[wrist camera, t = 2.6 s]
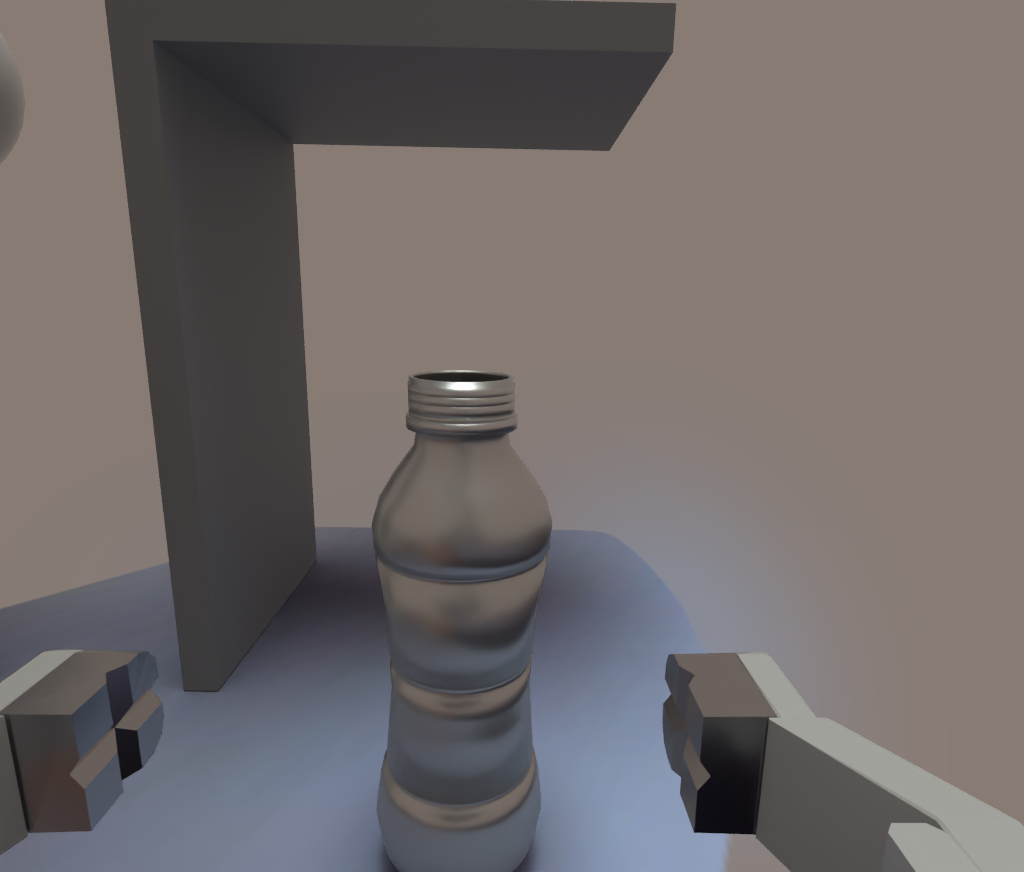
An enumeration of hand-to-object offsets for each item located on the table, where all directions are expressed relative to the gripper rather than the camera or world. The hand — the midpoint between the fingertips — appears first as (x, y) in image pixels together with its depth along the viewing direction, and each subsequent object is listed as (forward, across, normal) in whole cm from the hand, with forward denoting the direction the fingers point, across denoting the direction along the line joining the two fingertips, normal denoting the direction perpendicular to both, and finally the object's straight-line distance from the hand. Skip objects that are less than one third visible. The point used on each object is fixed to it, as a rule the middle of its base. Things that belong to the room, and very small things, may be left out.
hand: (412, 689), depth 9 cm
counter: (+31, +4, +16) cm, 36 cm away
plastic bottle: (+12, 0, +16) cm, 21 cm away
